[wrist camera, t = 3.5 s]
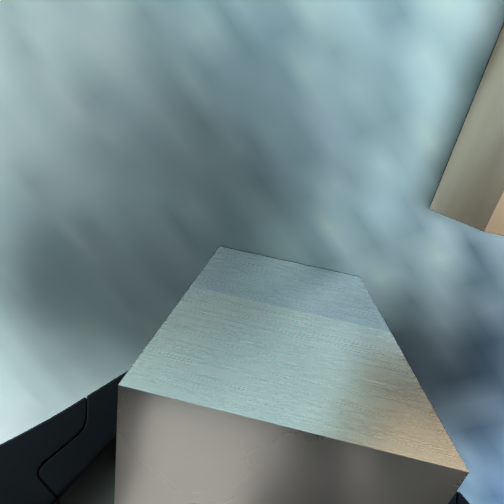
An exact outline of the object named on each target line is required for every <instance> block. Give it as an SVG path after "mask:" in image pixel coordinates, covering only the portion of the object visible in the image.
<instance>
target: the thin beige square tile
mask: <svg viewBox="0 0 504 504" xmlns="http://www.w3.org/2000/svg"><path fill="white" fill-rule="evenodd" d="M429 209H431V210H433V211H436V212H438V213H440V214H443V215H445V216H448V217H450V218H452V219H455V220H457V221H460V222H462V223H464V224H467V225H469V226H472V227H474V228H476V229H479V230H481V231H484V232H488V233H493V234H498V235H503V236H504V25H503V28H502V30H501V33H500V35H499V38H498V40H497V43H496V45H495V48H494V50H493V52H492V55H491V57H490V60H489V62H488V65H487V67H486V70H485V72H484V75H483V77H482V80H481V82H480V85H479V87H478V90H477V92H476V95H475V97H474V100H473V102H472V104H471V107H470V109H469V112H468V114H467V117H466V119H465V122H464V124H463V127H462V129H461V132H460V134H459V137H458V139H457V142H456V144H455V147H454V149H453V151H452V154H451V156H450V159H449V161H448V164H447V166H446V169H445V171H444V174H443V176H442V179H441V181H440V184H439V186H438V189H437V191H436V194H435V196H434V198H433V201H432V203H431V206H430V208H429Z"/></svg>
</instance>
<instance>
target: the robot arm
mask: <svg viewBox="0 0 504 504" xmlns="http://www.w3.org/2000/svg"><path fill="white" fill-rule="evenodd" d="M128 371H129V370H128ZM128 371H127V372H128ZM127 372H125V373H124V374H122V375H120V376H119V377H117V378H115V379H114V380H112V381H111V382H109V383H107V384H106V385H104V386H103V387H101V388H99V389H98V390H96V391H95V392H93V393H91V394H90V395H88V396H87V398H83V399H81V400H80V401H78V402H77V403H75V404H73V405H72V406H70V407H68V408H67V409H65V410H63V411H62V412H60V413H58V414H57V415H55V416H53V417H51V418H50V419H48V420H46V421H44V422H42V423H41V424H39V425H37V426H35V427H33V428H31V429H29V430H28V431H26V432H24V433H22V434H20V435H18V436H16V437H14V438H12V439H10V440H8V441H7V442H5V443H3V444H1V445H0V504H114V497H115V466H116V435H117V404H118V384H119V383H120V382H121V380H122V379H123V378H124V376H125V375H126V373H127ZM448 504H470V503H469V502H468V501H467V500H466V499H465V498H464V497H463V495H462V494H461V493H460V492H457V491H456V493H455V494H454V496H453V497H452V499H451V500H450V502H449V503H448Z"/></svg>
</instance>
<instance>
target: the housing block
mask: <svg viewBox="0 0 504 504" xmlns="http://www.w3.org/2000/svg"><path fill="white" fill-rule="evenodd" d="M468 473H469V471H468V470H467V468H466V466H465V464H464V463H463V461H462V459H461V457H460V455H459V454H458V452H457V450H456V448H455V446H454V445H453V443H452V441H451V439H450V437H449V436H448V434H447V432H446V430H445V428H444V427H443V425H442V423H441V421H440V419H439V418H438V416H437V414H436V412H435V411H434V409H433V407H432V405H431V403H430V402H429V400H428V398H427V396H426V394H425V393H424V391H423V389H422V387H421V385H420V384H419V382H418V380H417V378H416V376H415V375H414V373H413V371H412V369H411V367H410V366H409V364H408V362H407V360H406V359H405V357H404V355H403V353H402V351H401V350H400V348H399V346H398V344H397V342H396V341H395V339H394V337H393V335H392V333H391V332H390V330H389V328H388V326H387V324H386V323H385V321H384V319H383V317H382V315H381V314H380V312H379V310H378V308H377V306H376V305H375V303H374V301H373V299H372V298H371V296H370V294H369V292H368V290H367V289H366V287H365V285H364V283H363V281H362V280H361V278H360V277H358V276H353V275H349V274H344V273H339V272H335V271H330V270H326V269H321V268H317V267H312V266H307V265H303V264H298V263H294V262H289V261H285V260H280V259H275V258H271V257H266V256H262V255H257V254H253V253H248V252H243V251H239V250H234V249H230V248H225V247H221V246H220V247H219V248H218V249H217V251H216V252H215V254H214V255H213V256H212V258H211V259H210V260H209V262H208V263H207V264H206V266H205V267H204V269H203V270H202V271H201V273H200V274H199V275H198V277H197V278H196V279H195V281H194V282H193V284H192V285H191V286H190V288H189V289H188V290H187V292H186V293H185V294H184V296H183V297H182V298H181V300H180V301H179V303H178V304H177V305H176V307H175V308H174V309H173V311H172V312H171V313H170V315H169V316H168V318H167V319H166V320H165V322H164V323H163V324H162V326H161V327H160V328H159V330H158V331H157V333H156V334H155V335H154V337H153V338H152V339H151V341H150V342H149V343H148V345H147V346H146V348H145V349H144V350H143V352H142V353H141V354H140V356H139V357H138V358H137V360H136V361H135V363H134V364H133V365H132V367H131V368H130V369H129V371H128V372H127V373H126V375H125V376H124V378H123V379H122V380H121V382H120V383H119V384H118V404H117V435H116V466H115V497H114V504H448V503H449V502H450V500H451V499H452V497H453V496H454V494H455V493H456V491H457V490H458V488H459V487H460V485H461V484H462V482H463V481H464V479H465V478H466V476H467V475H468Z"/></svg>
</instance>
